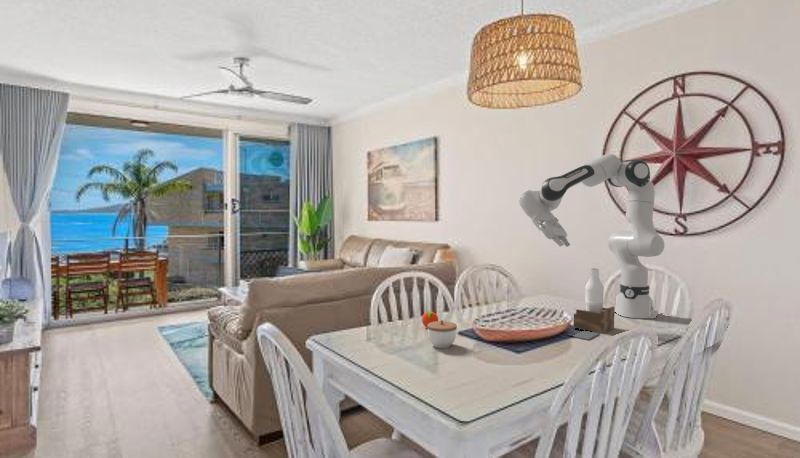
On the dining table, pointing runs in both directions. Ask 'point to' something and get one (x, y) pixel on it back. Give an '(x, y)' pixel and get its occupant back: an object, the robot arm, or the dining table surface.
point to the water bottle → (594, 292)
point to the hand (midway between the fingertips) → (565, 245)
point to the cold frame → (595, 320)
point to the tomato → (429, 318)
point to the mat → (586, 335)
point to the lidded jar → (442, 333)
